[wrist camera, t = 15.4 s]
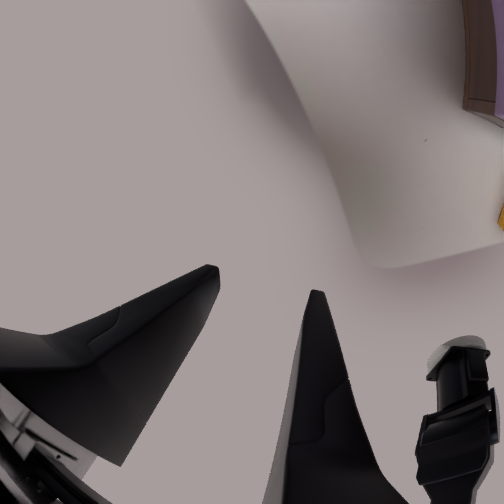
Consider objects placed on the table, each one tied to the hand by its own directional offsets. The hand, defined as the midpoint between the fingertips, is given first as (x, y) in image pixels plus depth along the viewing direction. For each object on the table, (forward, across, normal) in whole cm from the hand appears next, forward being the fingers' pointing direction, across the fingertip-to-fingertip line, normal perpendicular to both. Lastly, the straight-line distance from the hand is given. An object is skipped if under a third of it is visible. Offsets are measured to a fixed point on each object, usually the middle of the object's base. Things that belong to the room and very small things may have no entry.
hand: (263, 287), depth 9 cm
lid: (0, -8, -14) cm, 16 cm away
